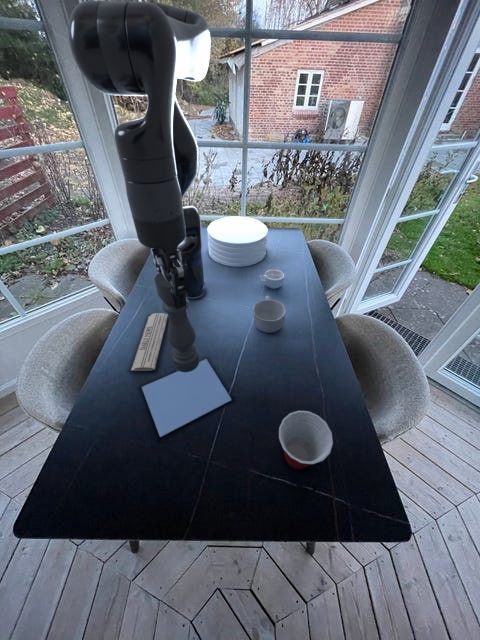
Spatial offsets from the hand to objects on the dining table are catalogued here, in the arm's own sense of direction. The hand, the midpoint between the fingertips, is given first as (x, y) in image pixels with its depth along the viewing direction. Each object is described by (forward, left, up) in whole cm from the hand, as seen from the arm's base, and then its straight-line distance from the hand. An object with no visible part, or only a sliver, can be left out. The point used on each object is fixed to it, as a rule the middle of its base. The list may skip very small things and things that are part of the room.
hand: (174, 297), depth 51 cm
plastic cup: (+28, +14, -34) cm, 46 cm away
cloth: (0, -2, -33) cm, 33 cm away
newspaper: (-23, -4, -34) cm, 41 cm away
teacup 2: (-12, +34, -34) cm, 49 cm away
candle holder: (0, 0, -21) cm, 21 cm away
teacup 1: (-30, +48, -34) cm, 66 cm away
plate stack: (-61, +50, -34) cm, 85 cm away
